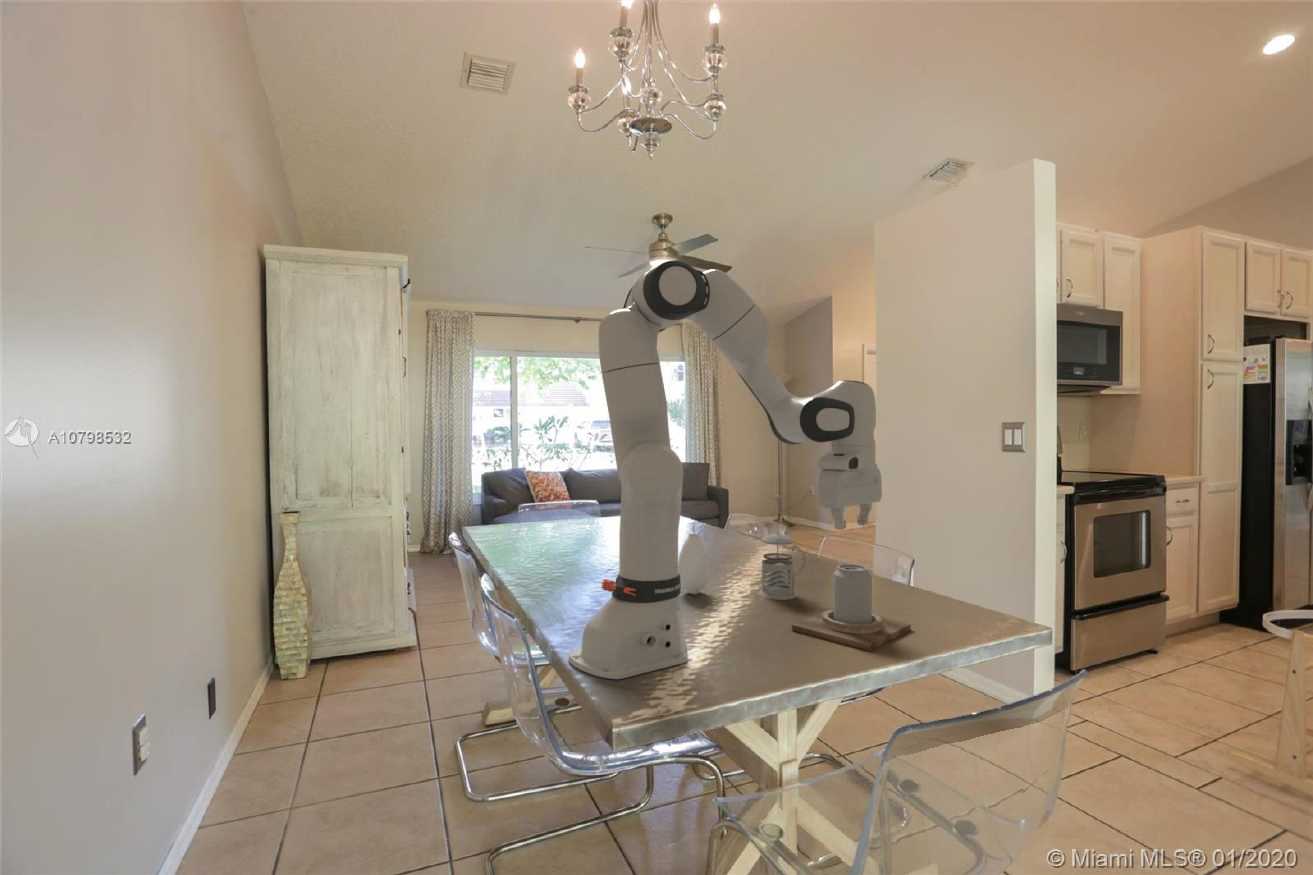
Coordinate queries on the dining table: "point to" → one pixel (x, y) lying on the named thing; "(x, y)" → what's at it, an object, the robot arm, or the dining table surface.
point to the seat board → (852, 637)
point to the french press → (778, 568)
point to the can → (853, 594)
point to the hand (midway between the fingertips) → (851, 526)
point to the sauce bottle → (693, 564)
